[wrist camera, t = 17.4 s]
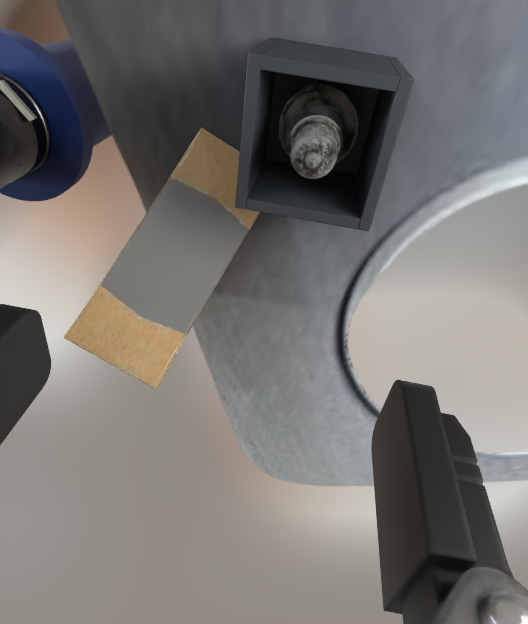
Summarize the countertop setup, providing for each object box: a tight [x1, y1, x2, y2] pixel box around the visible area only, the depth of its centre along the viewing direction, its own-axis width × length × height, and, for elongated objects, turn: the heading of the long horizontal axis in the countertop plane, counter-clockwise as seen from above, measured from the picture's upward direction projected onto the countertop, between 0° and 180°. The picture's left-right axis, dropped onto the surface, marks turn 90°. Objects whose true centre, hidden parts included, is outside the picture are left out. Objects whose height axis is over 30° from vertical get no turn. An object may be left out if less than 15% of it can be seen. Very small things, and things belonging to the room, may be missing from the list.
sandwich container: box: [64, 127, 260, 388], centre depth 37 cm, size 9×15×15 cm, turn 146°
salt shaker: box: [278, 81, 359, 179], centre depth 30 cm, size 6×6×12 cm
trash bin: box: [235, 38, 414, 231], centre depth 32 cm, size 10×10×10 cm
